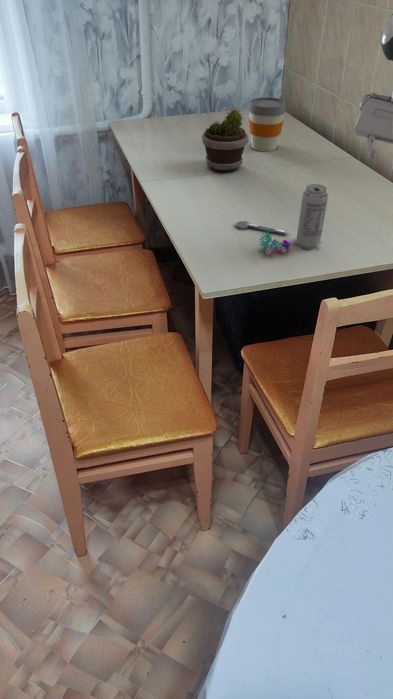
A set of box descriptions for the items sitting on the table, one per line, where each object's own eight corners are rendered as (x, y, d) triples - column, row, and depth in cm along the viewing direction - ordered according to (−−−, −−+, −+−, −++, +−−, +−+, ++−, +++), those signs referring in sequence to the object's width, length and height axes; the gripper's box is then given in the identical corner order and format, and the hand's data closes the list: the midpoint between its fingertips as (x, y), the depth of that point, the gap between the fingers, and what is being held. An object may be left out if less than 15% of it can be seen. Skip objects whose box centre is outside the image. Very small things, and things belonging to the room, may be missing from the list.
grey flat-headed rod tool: (287, 231, 144) (288, 228, 143) (284, 237, 141) (284, 234, 141) (239, 222, 148) (239, 218, 147) (234, 227, 145) (234, 224, 145)
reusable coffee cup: (264, 155, 187) (267, 109, 177) (239, 145, 194) (241, 101, 185) (288, 147, 193) (293, 102, 183) (263, 138, 200) (267, 94, 191)
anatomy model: (294, 244, 129) (290, 227, 134) (260, 244, 129) (258, 228, 134) (291, 261, 133) (288, 244, 138) (259, 261, 133) (256, 245, 138)
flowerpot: (191, 166, 179) (191, 102, 166) (225, 155, 187) (228, 93, 174) (221, 179, 170) (224, 113, 158) (255, 167, 178) (260, 103, 165)
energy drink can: (317, 239, 141) (327, 183, 131) (321, 250, 136) (331, 193, 127) (294, 238, 141) (302, 182, 131) (297, 250, 136) (305, 193, 127)
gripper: (366, 85, 119) (347, 148, 120) (460, 106, 116) (440, 170, 118) (361, 96, 125) (343, 156, 126) (451, 117, 122) (431, 177, 124)
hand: (391, 163), depth 122 cm, fingers open, 8 cm apart
